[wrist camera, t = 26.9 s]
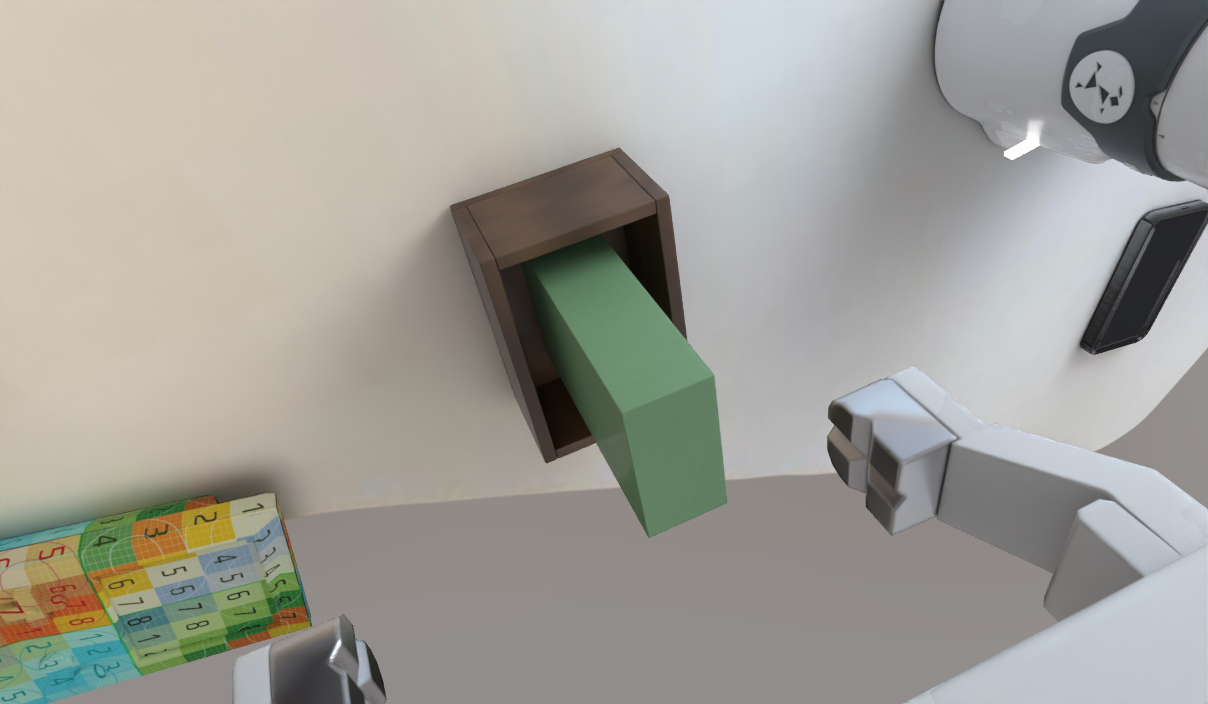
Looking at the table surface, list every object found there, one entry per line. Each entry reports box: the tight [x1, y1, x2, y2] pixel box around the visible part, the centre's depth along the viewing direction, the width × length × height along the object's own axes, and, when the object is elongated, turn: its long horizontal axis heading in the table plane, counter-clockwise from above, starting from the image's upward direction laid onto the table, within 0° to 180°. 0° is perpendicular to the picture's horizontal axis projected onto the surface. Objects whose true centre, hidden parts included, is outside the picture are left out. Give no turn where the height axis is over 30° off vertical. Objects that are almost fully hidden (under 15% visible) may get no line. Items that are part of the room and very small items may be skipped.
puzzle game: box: [0, 493, 312, 704], centre depth 46 cm, size 12×5×20 cm
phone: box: [1081, 200, 1208, 355], centre depth 71 cm, size 8×1×15 cm
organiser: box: [450, 148, 687, 463], centre depth 45 cm, size 10×15×7 cm
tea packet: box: [521, 234, 727, 538], centre depth 41 cm, size 4×16×9 cm
